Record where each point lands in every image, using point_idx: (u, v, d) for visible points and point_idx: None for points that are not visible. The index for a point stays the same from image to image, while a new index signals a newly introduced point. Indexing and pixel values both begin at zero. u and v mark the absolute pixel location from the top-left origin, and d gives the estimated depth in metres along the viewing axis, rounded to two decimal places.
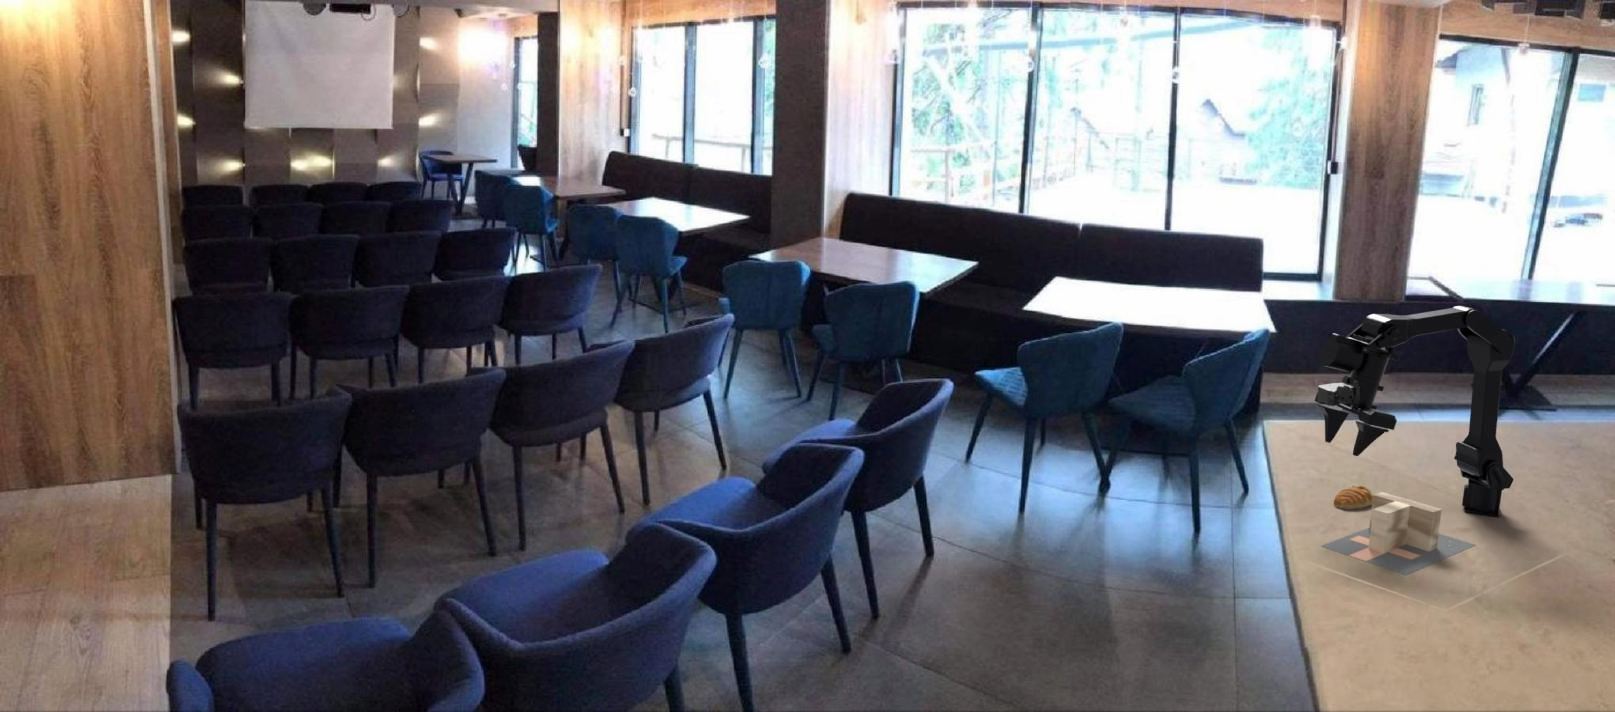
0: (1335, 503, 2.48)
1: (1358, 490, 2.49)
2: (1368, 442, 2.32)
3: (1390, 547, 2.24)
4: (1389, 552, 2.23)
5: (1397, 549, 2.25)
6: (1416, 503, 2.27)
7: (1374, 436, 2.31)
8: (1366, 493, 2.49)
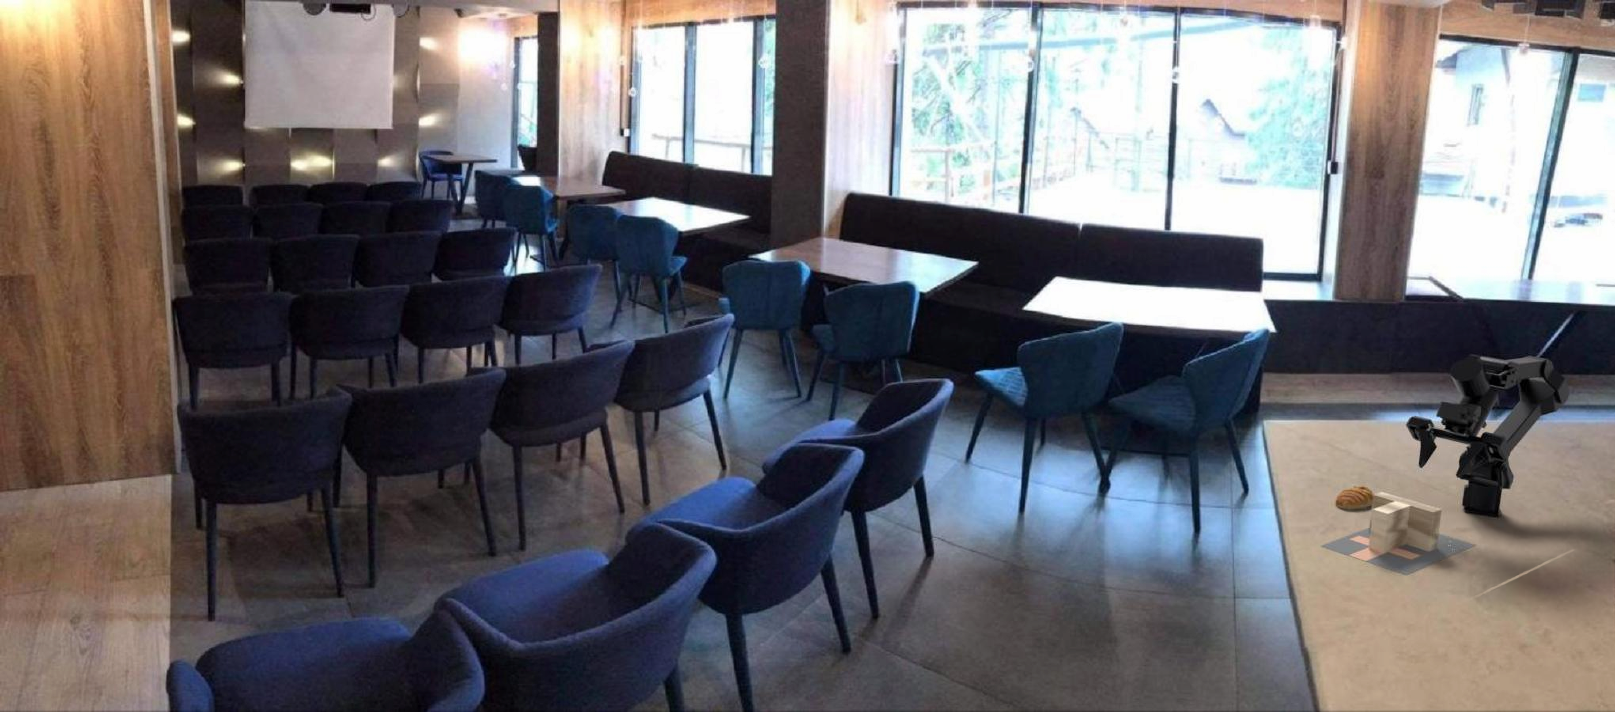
0: (1337, 503, 2.48)
1: (1360, 490, 2.49)
2: (1472, 467, 2.30)
3: (1390, 547, 2.24)
4: (1389, 552, 2.23)
5: (1397, 549, 2.25)
6: (1416, 503, 2.27)
7: (1478, 462, 2.31)
8: (1368, 493, 2.49)
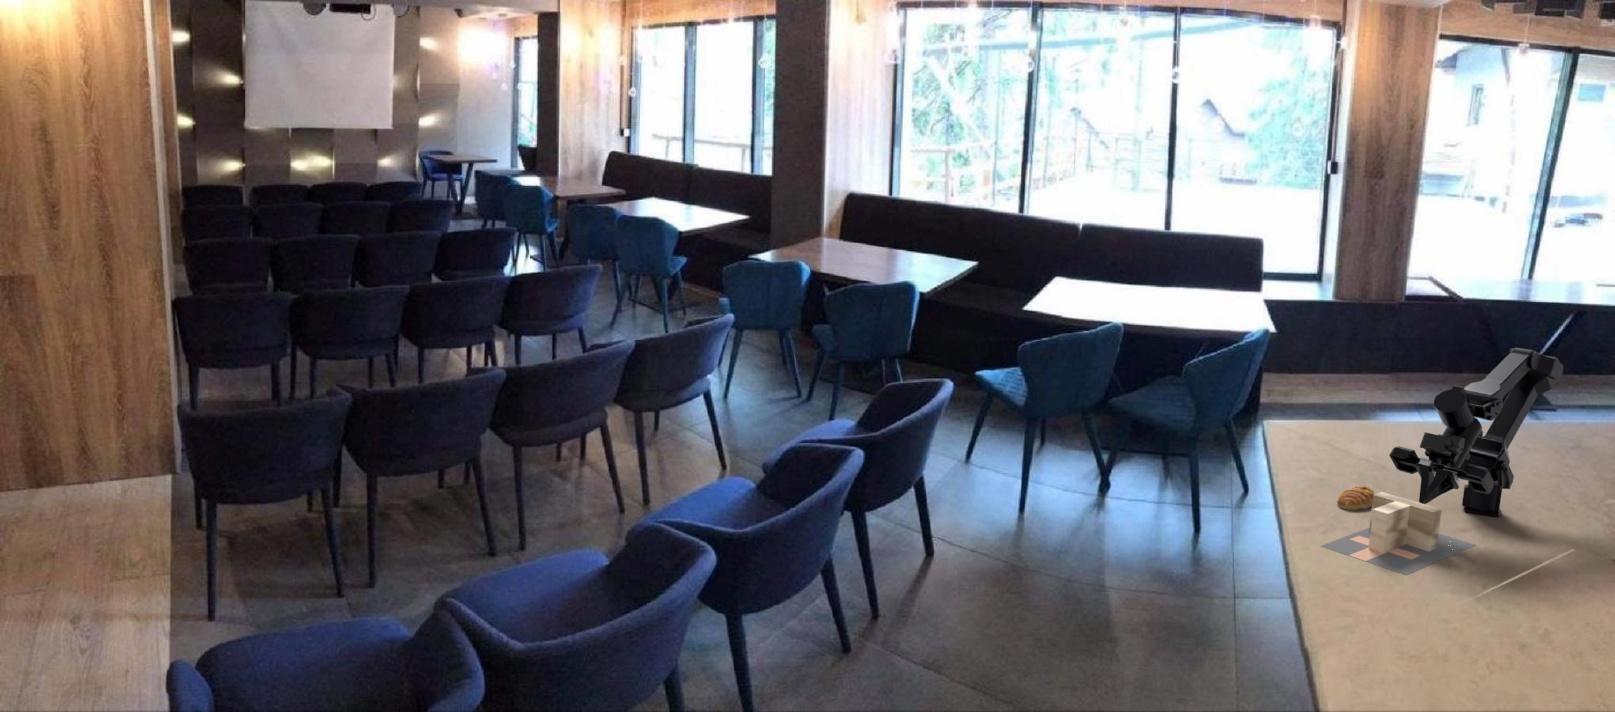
0: (1339, 504, 2.48)
1: (1361, 490, 2.49)
2: (1437, 494, 2.31)
3: (1390, 547, 2.24)
4: (1389, 552, 2.23)
5: (1397, 549, 2.25)
6: (1416, 503, 2.27)
7: (1443, 490, 2.32)
8: (1369, 493, 2.48)
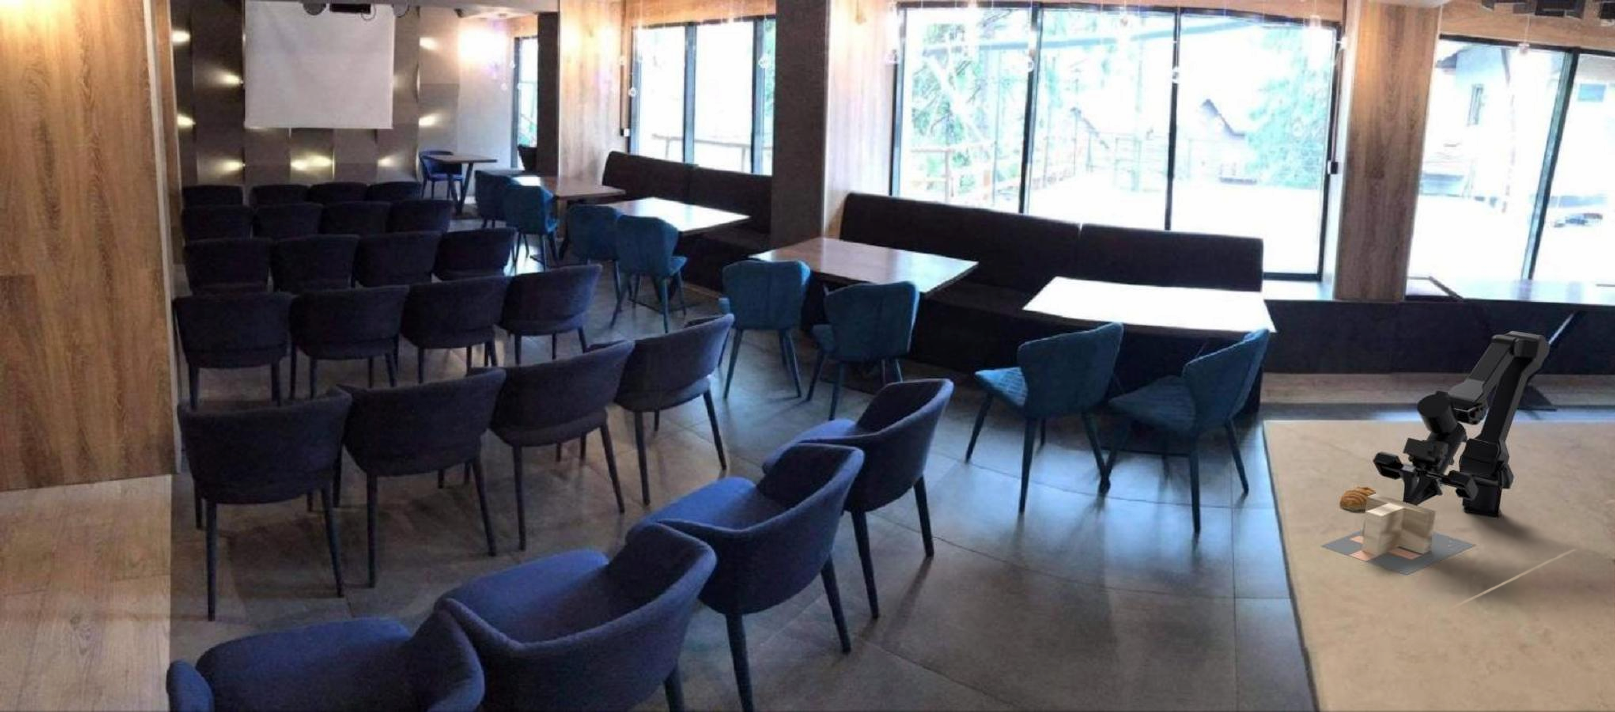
0: (1341, 504, 2.48)
1: (1363, 491, 2.49)
2: (1420, 500, 2.28)
3: (1383, 549, 2.23)
4: (1389, 552, 2.23)
5: (1397, 549, 2.25)
6: (1410, 505, 2.25)
7: (1427, 496, 2.28)
8: (1371, 494, 2.48)
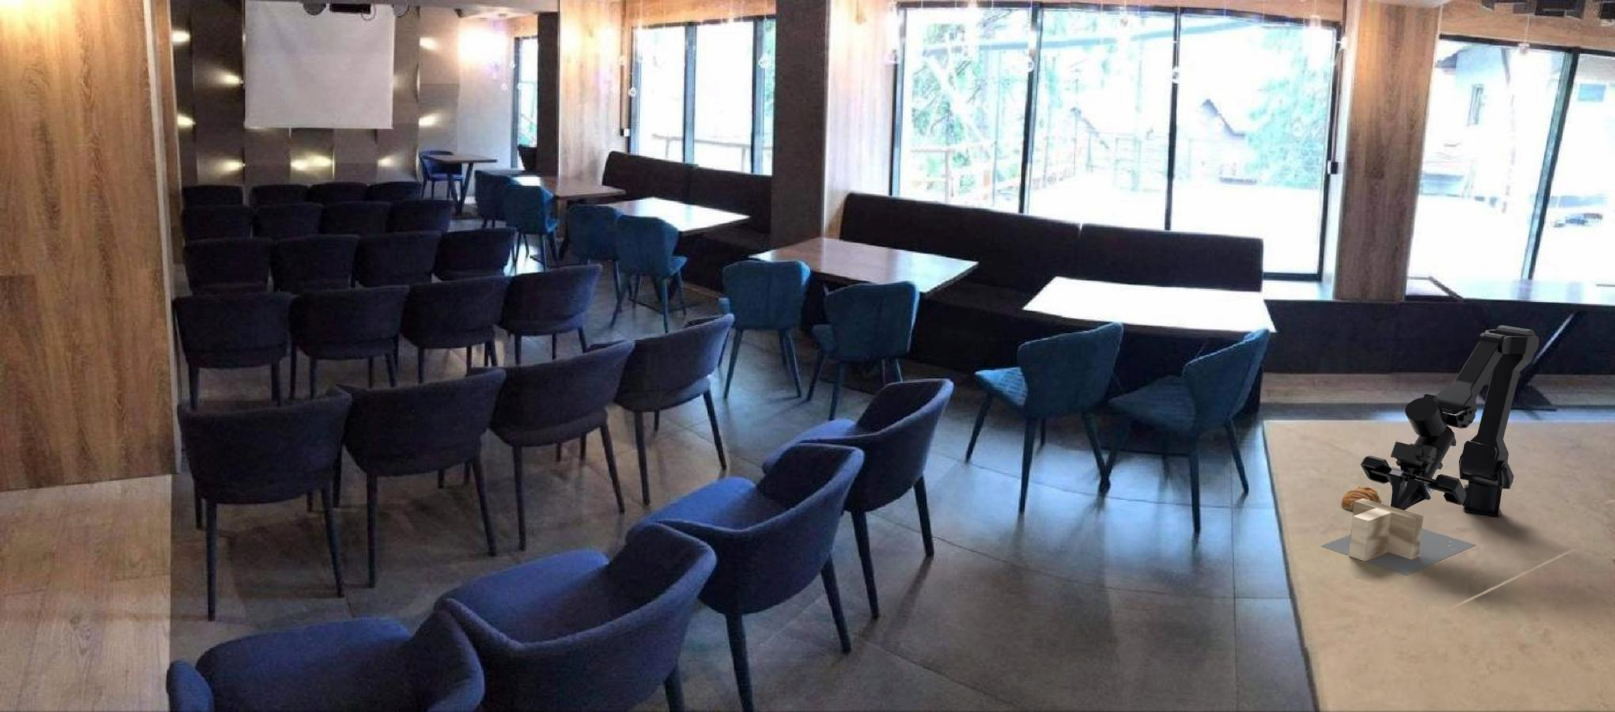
0: (1343, 505, 2.47)
1: (1365, 491, 2.49)
2: (1408, 505, 2.25)
3: (1370, 554, 2.20)
4: None
5: None
6: (1398, 510, 2.23)
7: (1415, 500, 2.26)
8: (1373, 494, 2.48)
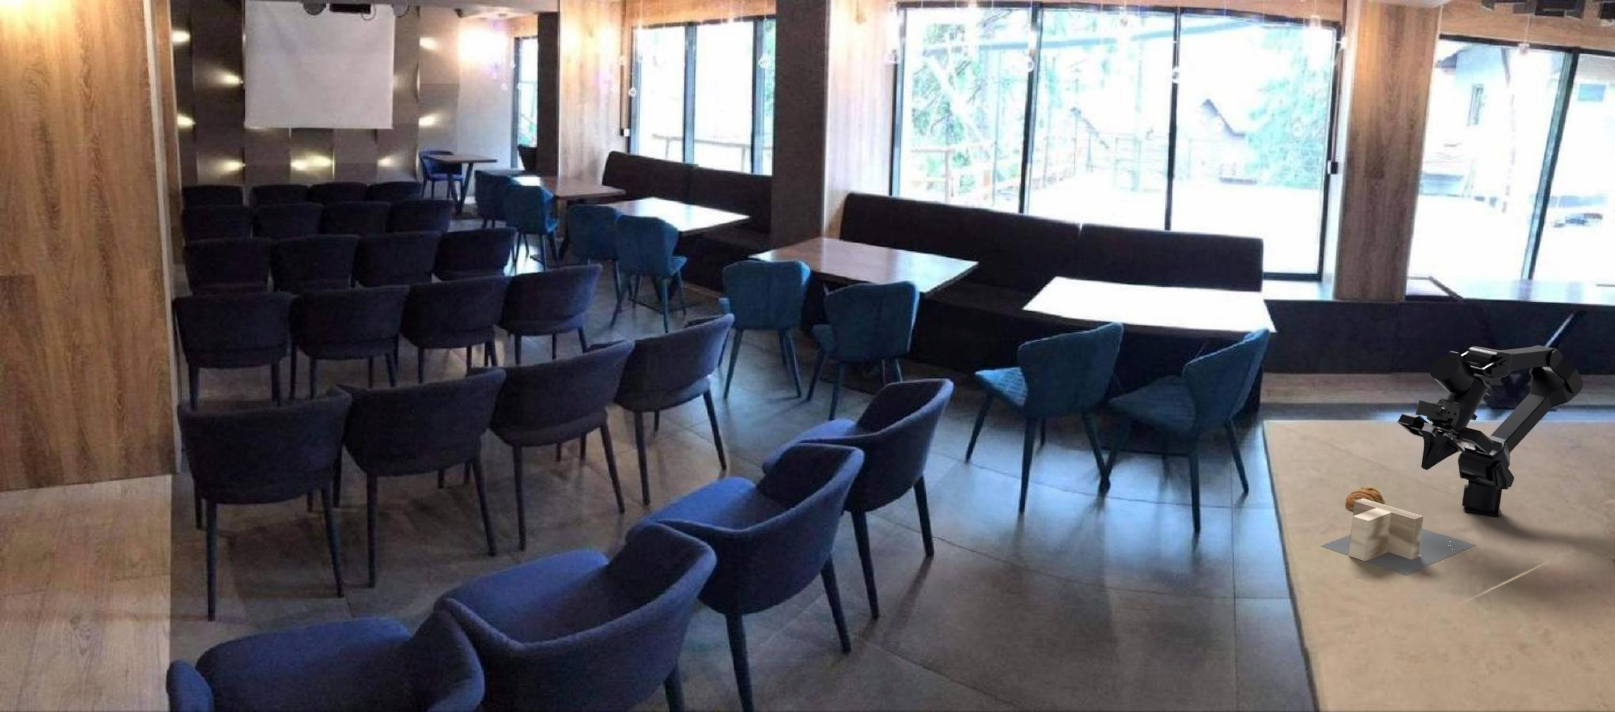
0: (1347, 506, 2.47)
1: (1369, 492, 2.48)
2: (1440, 458, 2.36)
3: (1370, 554, 2.20)
4: None
5: None
6: (1398, 510, 2.23)
7: (1447, 453, 2.36)
8: (1377, 494, 2.48)
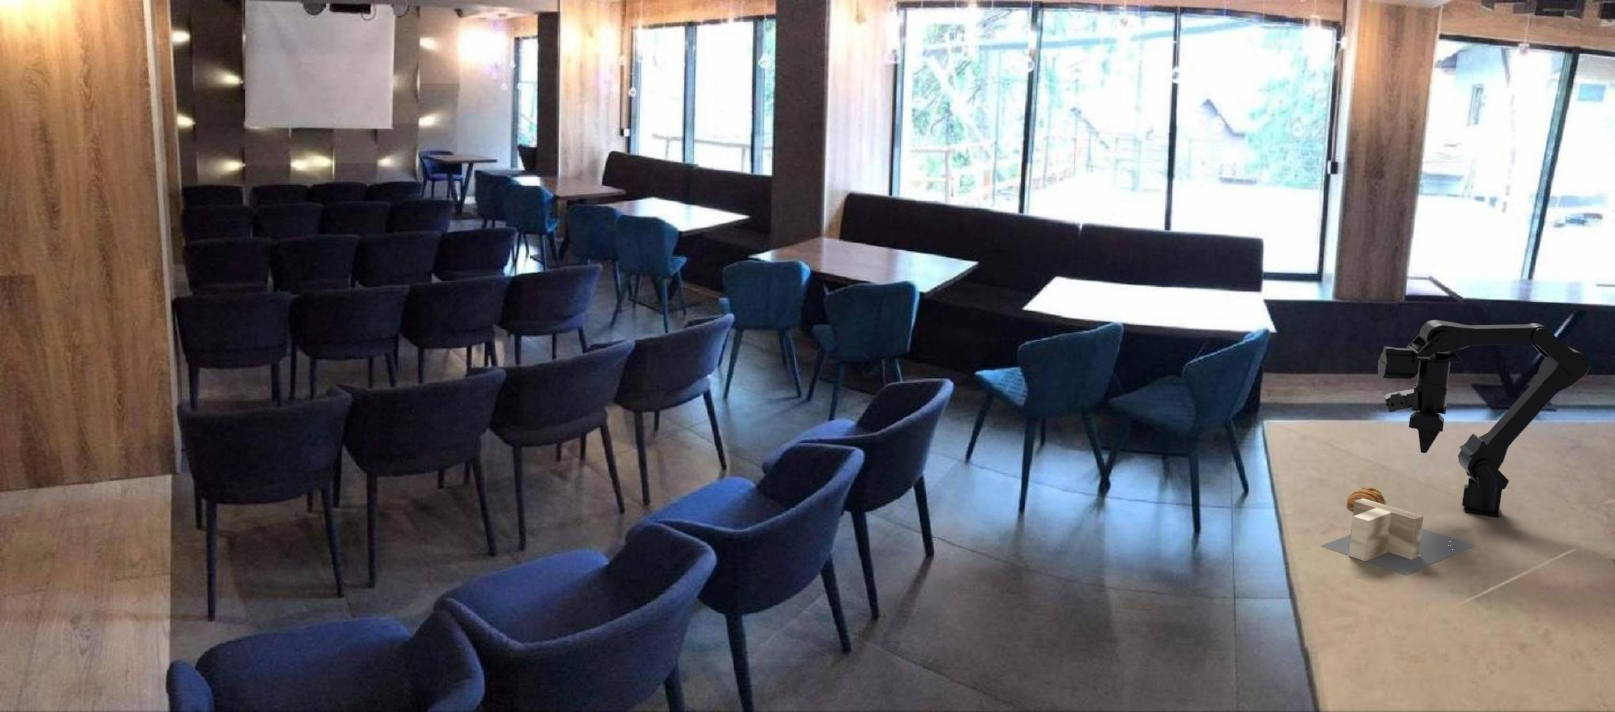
0: (1349, 506, 2.47)
1: (1370, 492, 2.48)
2: (1430, 439, 2.44)
3: (1370, 554, 2.20)
4: None
5: None
6: (1398, 510, 2.23)
7: (1433, 433, 2.44)
8: (1378, 495, 2.48)
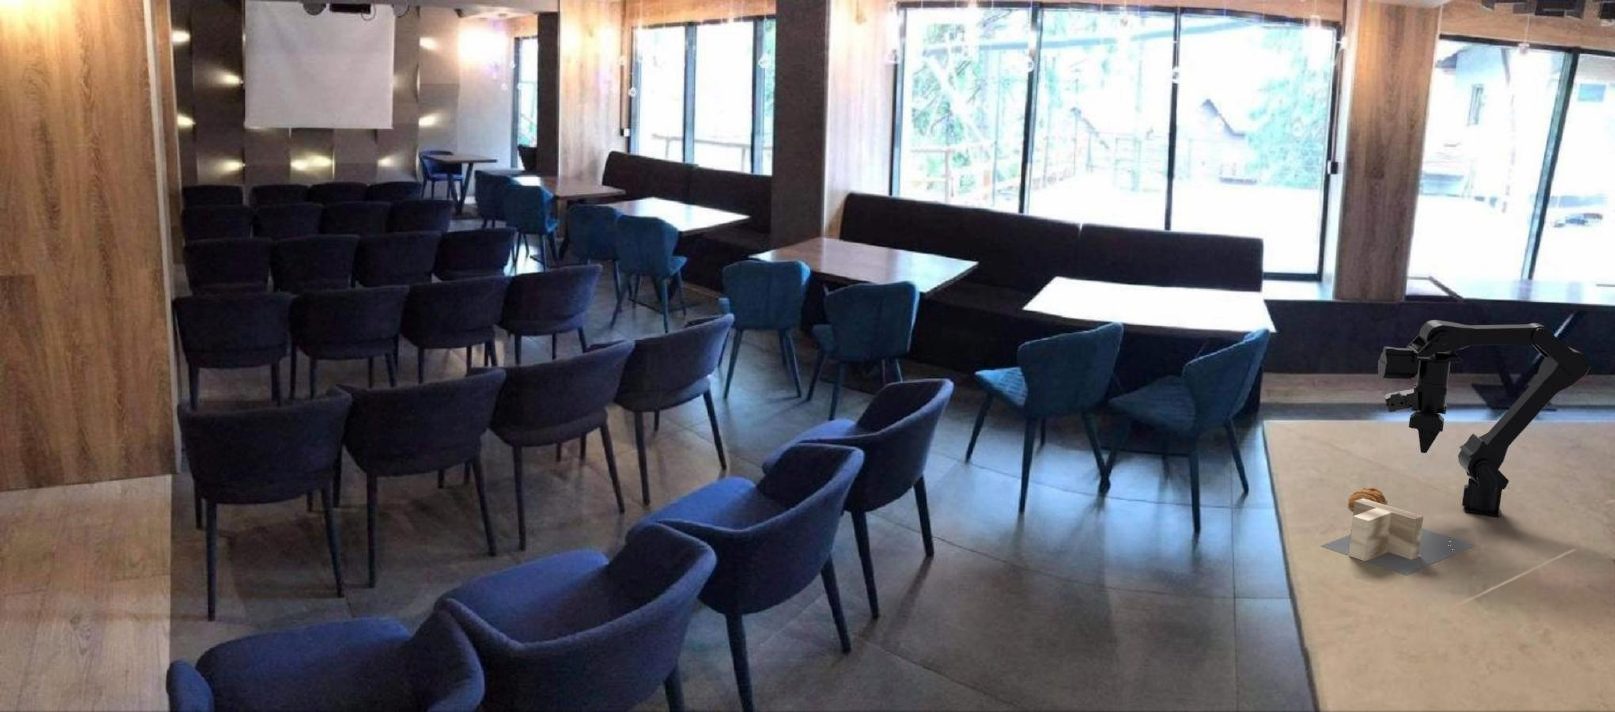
0: (1350, 506, 2.46)
1: (1371, 492, 2.48)
2: (1430, 439, 2.44)
3: (1370, 554, 2.20)
4: None
5: None
6: (1398, 510, 2.23)
7: (1433, 433, 2.44)
8: (1379, 495, 2.48)
